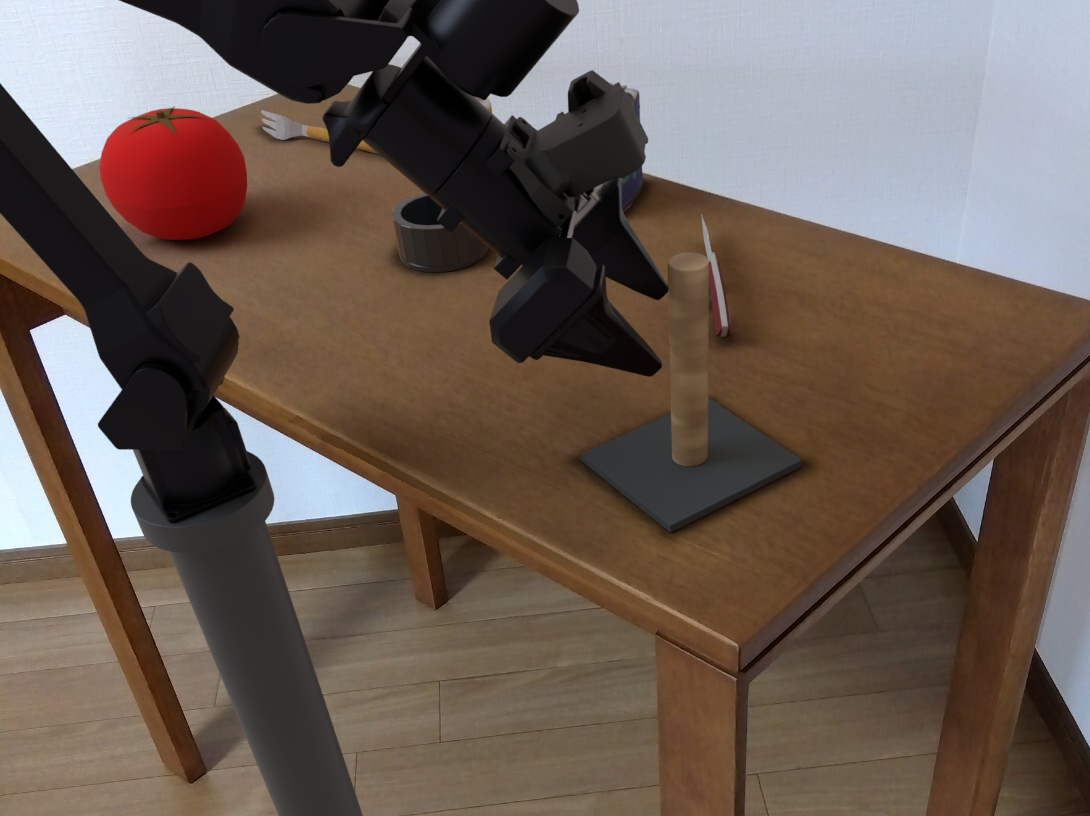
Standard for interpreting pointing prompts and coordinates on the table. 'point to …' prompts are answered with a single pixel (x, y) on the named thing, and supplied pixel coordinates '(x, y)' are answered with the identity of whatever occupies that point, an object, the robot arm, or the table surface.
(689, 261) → the muddler
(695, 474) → the mat
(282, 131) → the fork
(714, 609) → the table surface
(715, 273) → the knife
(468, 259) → the cup
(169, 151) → the tomato
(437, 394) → the table surface
